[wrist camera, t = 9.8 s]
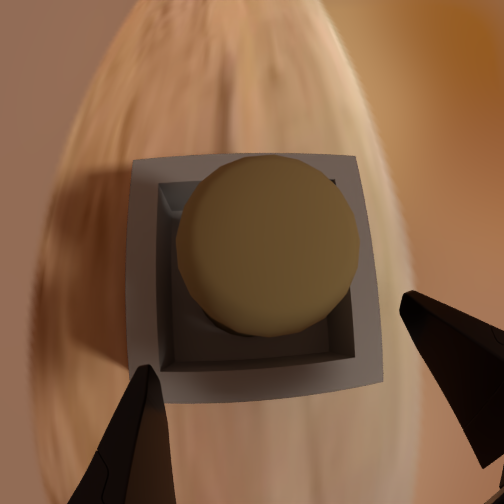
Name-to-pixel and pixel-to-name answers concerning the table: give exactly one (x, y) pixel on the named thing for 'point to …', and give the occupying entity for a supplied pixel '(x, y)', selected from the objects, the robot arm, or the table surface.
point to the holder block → (217, 340)
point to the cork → (267, 246)
